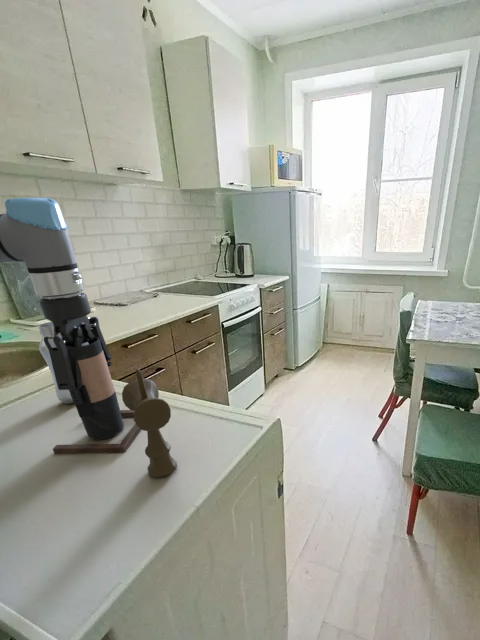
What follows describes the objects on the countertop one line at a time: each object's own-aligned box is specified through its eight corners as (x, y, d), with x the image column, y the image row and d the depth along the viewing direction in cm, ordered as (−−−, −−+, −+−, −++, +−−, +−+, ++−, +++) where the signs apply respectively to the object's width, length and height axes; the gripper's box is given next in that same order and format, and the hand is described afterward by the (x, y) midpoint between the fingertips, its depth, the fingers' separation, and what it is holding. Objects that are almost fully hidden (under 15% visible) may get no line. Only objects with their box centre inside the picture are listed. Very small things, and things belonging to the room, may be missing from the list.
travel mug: (106, 443, 72) (75, 350, 63) (78, 437, 74) (45, 347, 65) (132, 423, 78) (108, 337, 69) (106, 418, 80) (79, 334, 72)
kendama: (171, 451, 69) (149, 355, 60) (188, 478, 62) (165, 373, 53) (140, 462, 66) (111, 364, 57) (153, 492, 59) (122, 384, 50)
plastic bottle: (74, 408, 87) (45, 329, 78) (53, 405, 89) (23, 328, 80) (94, 396, 92) (70, 321, 83) (75, 393, 94) (49, 320, 85)
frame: (54, 453, 70) (52, 448, 69) (93, 415, 83) (91, 410, 83) (125, 452, 69) (123, 447, 69) (153, 413, 83) (151, 409, 82)
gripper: (45, 308, 54) (89, 432, 64) (110, 283, 72) (136, 383, 82) (-2, 309, 54) (49, 433, 64) (74, 285, 73) (104, 384, 83)
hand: (98, 405), depth 73 cm, fingers closed on travel mug, 8 cm apart
